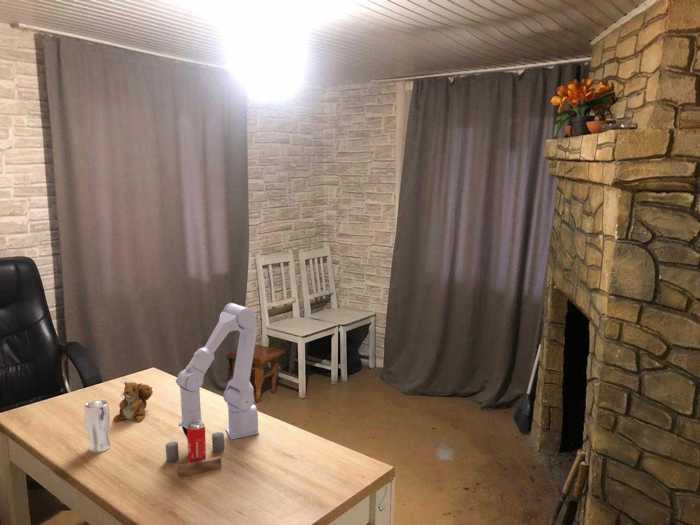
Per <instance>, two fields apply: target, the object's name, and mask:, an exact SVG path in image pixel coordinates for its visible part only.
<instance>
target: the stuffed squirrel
mask: <svg viewBox="0 0 700 525" xmlns="http://www.w3.org/2000/svg"><path fill="white" fill-rule="evenodd" d="M153 392H154V391H153V387H152V386H150V385H148V384H143V383H142V382H141V383H137V382H132V381H131V382H127V381H125V382H124V389H123V392H122V393H121V394H120V396H119V397H121V399H122V400H121V401H120V402H119V404H118V405H119V410H118V411H119V412H118V413H119V414H116V415H115V416H114V417H113V419H112V420H113V422H118V421H122V420H124V419H126V420H134V421H136V422H138V423H140V422H142V421H143V420H144V418H145V417H146V408H147V403H148V402H147V401H148V400H150V398H151V397H152V395H154V393H153Z"/></svg>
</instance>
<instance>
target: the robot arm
mask: <svg viewBox="0 0 700 525" xmlns="http://www.w3.org/2000/svg"><path fill="white" fill-rule="evenodd" d="M256 319H257V314H256V312H255V311H254V310H253V309H252V308H251V307H246V306H243V305H239V304H237V303H234V302H229V303H228V304H226V305H225V306H224V308H223V310H222V311H221V313H220V314H219V320H218V322H217V324H216V325H215V328H214V329H213V331H212V333H211V335H210V336H209V338H208V340H207V342H206V344H204V345H205V346H203V347H200V348H198V349H197V350H196V351H195V352H194V354H193V357H192V358H191V360H190V362H188V364H187V365H186V366H185V369H183V370H181V371H180V372H179V373H178V375H177V378H176V379H175V383H176V385H178V387H179V392H180V406H181V407H180V408H181V409H180V410H181V421H178V422H177V425H178V427H181V428H182V431H183V433H184V434H183V435H185V438H186V440H187V442H188V438H187V428H188V425H189V424H191V423H194V422H201V423H203V420H202V408H201V393H200V392H201V390H200V389H201V387H202V386H203V384H204V377H205V374H206V372H207V370H208V369H209V368H210V366H211V365H212V363H213V362H214V361H215V351H216V350H217V349H218V347H219V346H220V345H221V343H222V342H223V341H224V340H225V338H226V337H227V336H228V334H229V333H231V332H235V331H238V332H239V338H238V344H237V350H236V351H237V352H236V356H235V363H234V370H233V371H234V372H233V376H232V378H231V379H230V380H228V382H227V386H226V388H225V390H224V392H223V400H224V402H225V403H227V411H228V427H226V428H225V430H226V433H227V435H228V436H229V438H230V440H236V439H240V438H245V437H250V436H253V435H258V434H260V432H259V417H258V416H259V415H258V408H257V406H256V404H254V403H255V395H254V386H253V385H252V383H251V381H250V380H251V379H250V378H251V373H252V366H253V360H254V353H255V348H256V347H255V346H256V341H257V334H258V325H257V321H256Z"/></svg>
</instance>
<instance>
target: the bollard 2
mask: <svg viewBox="0 0 700 525" xmlns="http://www.w3.org/2000/svg"><path fill="white" fill-rule="evenodd" d="M224 436H225V435H224V432H220V431H218V432H214V433H212V434H211V440H212V441H211V443H212V452H214V453H221V452H223V451H224V450H225V437H224Z"/></svg>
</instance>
